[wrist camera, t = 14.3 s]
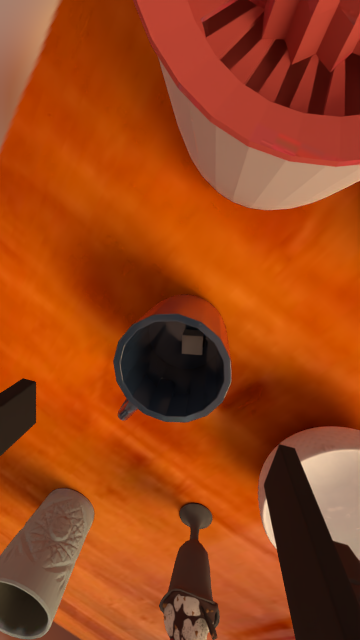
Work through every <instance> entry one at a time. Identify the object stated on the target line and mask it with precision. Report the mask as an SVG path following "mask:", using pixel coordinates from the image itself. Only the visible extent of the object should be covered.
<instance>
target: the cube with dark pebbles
mask: <svg viewBox="0 0 360 640" xmlns="http://www.w3.org/2000/svg"><path fill="white" fill-rule="evenodd" d="M203 335H204V334H203V333H202V332H201V331H200V330H188V329H185V330H184V332H183V335H182V354H194V355H202V352H203V348H204V346H205V342H206V341H205V340H206V339H205V338H204V336H203Z"/></svg>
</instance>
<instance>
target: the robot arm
mask: <svg viewBox="0 0 360 640" xmlns="http://www.w3.org/2000/svg"><path fill="white" fill-rule="evenodd" d="M35 423H36V382H35V381H31V380H27V379H21V380H20V381H18V382H17V383H15V384H14V385H12V386H11V387H9V388H7V389H6V390H4V391H3V392H1V393H0V456H1V455H2V454H3V453H4V452H5V451H6V450H7V449H8V448H10V447H11V446H12V445H13V444H14V443H15V442H16V441H17V440H18V439H19V438H20V437H21V436H22V435H23V434H24V433H26V432H27V431H28V430H29V429H30V428H31V427H32V426H33V425H34V424H35ZM264 490H265V495H266V500H267V504H268V509H269V514H270V519H271V524H272V528H273V533H274V538H275V543H276V547H277V552H278V557H279V562H280V567H281V571H282V576H283V581H284V586H285V591H286V595H287V600H288V605H289V610H290V615H291V619H292V624H293V629H294V634H295V639H296V640H360V561H359V559H358V558H357V557H356V555H355V554H354V553H353V551H352V550H351V548H350V547H349V546H348V545H346V544H343V543H339V542H336V541H333V540H332V537H331V535H330V532H329V530H328V528H327V525H326V523H325V520H324V518H323V515H322V513H321V511H320V508H319V506H318V503H317V501H316V498H315V496H314V494H313V491H312V489H311V486H310V484H309V481H308V479H307V476H306V474H305V472H304V469H303V467H302V464H301V462H300V459H299V457H298V455H297V452H296V450H295V448H292V447H289V446H285V445H281V444H279V446H278V448H277V451H276V454H275V456H274V459H273V461H272V464H271V467H270V469H269V472H268V475H267V477H266V480H265V482H264Z"/></svg>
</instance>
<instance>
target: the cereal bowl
mask: <svg viewBox="0 0 360 640" xmlns="http://www.w3.org/2000/svg"><path fill="white" fill-rule="evenodd" d="M279 444H281V445H285V446H289V447H292V448H295V450H296V452H297V455H298V457H299V459H300V462H301V464H302V467H303V469H304V472H305V474H306V476H307V479H308V481H309V484H310V486H311V489H312V491H313V494H314V496H315V498H316V501H317V503H318V506H319V508H320V511H321V513H322V515H323V518H324V520H325V523H326V525H327V528H328V530H329V532H330V535H331V537H332V540H333V541H336V542H339V543H343V544H346V545H348V546H349V547H350V548H351V550H352V551H353V553H354V554H355V555H356V557H357V558H358V559H359V561H360V430H357V429H352V428H347V427H338V426H324V427H315V428H311V429H306V430H304V431H301V432H298V433H295V434H294V435H291V436H289V437H288V438H286V439H285V440H284V441H282V442H281V443H279ZM279 444H278V446H279ZM278 446H276V447H275V448H274V449H273V451H272V452H271V453H270V454H269V456H268V457H267V459H266V461H265V462H264V464H263V467H262V469H261V473H260V478H259V485H258V501H259V509H260V515H261V519H262V523H263V526H264V529H265V532H266V534H267V536H268V538H269V540H270V541H271V543H272V544H273V545H274V547H275V548H276V549H277V547H276V543H275V538H274V533H273V528H272V524H271V519H270V514H269V509H268V504H267V500H266V495H265V490H264V482H265V480H266V477H267V475H268V472H269V469H270V467H271V464H272V461H273V459H274V456H275V454H276V451H277V448H278Z"/></svg>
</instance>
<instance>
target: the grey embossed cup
mask: <svg viewBox="0 0 360 640" xmlns="http://www.w3.org/2000/svg"><path fill="white" fill-rule="evenodd" d="M93 519H94V509H93V507H92V505H91V503H90V502H89V500H88V499H87V498H86V497H84V496H83V495H82V494H80V493H79V492H77V491H74V490H71V489H66V488H61V489H56V490H54V491H52V492H51V493H50V494H49V495H48V496H47V498H46V499H45V500H44V502H43V503H42V504H41V505H40V507H39V508H38V509H37V510H36V511H35V513H34V514H33V515H32V516H31V518H30V519H29V520H28V521H27V522H26V524H25V526H24V528H23V529H21V530H20V531H19V532H18V534H17V535H16V536H15V537H14V539H13V540H12V541H11V542H10V544H9V545H8V546H7V548H6V549H5V550H4V551H3V553H2V554H1V555H0V631H2V632H3V633H6V634H8V635H10V636H13V637H17V638H21V639H36V638H39V637H42V636H43V635H45V634H46V632H47V631H48V630H49V628H50V626H51V624H52V622H53V619H54V617H55V614H56V611H57V609H58V606H59V604H60V601H61V599H62V596H63V593H64V590H65V588H66V585H67V583H68V580H69V578H70V575H71V573H72V571H73V568H74V565H75V561H76V559H77V558H78V556H79V553H80V551H81V548H82V546H83V543H84V541H85V538H86V536H87V533H88V531H89V529H90V527H91V525H92V522H93Z"/></svg>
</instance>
